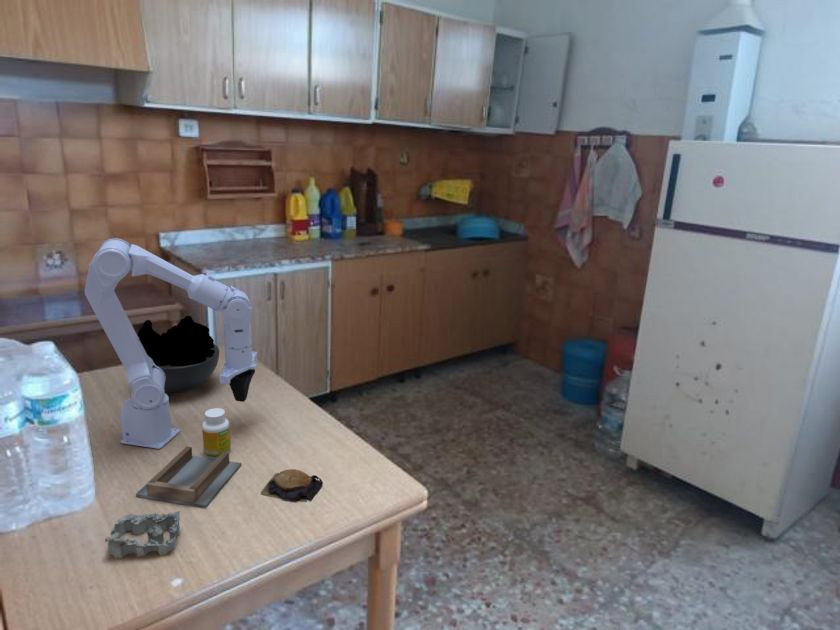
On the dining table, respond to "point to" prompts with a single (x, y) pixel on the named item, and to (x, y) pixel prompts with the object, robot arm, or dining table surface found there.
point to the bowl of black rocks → (181, 353)
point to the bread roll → (292, 486)
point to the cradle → (190, 479)
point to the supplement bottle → (215, 433)
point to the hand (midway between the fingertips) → (240, 400)
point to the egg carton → (138, 526)
